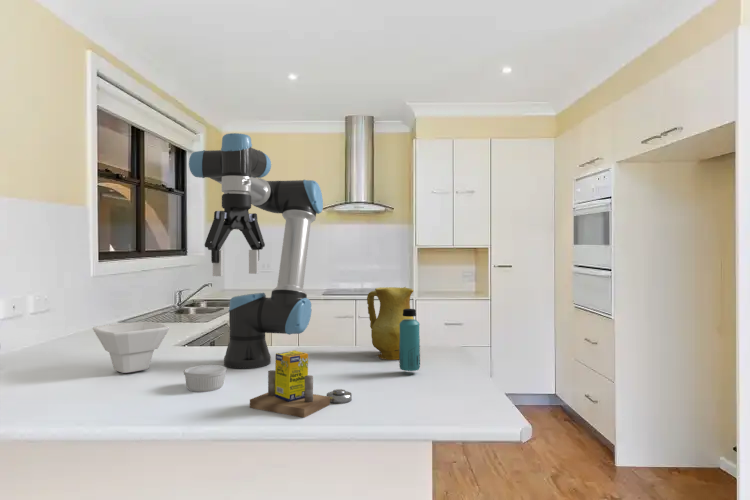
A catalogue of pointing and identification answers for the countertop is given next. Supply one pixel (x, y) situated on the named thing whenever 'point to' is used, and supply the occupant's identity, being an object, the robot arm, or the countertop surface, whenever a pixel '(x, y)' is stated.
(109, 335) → the bowl
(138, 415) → the countertop surface
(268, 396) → the peg rack
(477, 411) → the countertop surface
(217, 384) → the ramekin
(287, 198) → the robot arm
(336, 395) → the metal knobbed disc
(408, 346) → the beverage bottle
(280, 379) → the supplement box
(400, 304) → the pitcher
